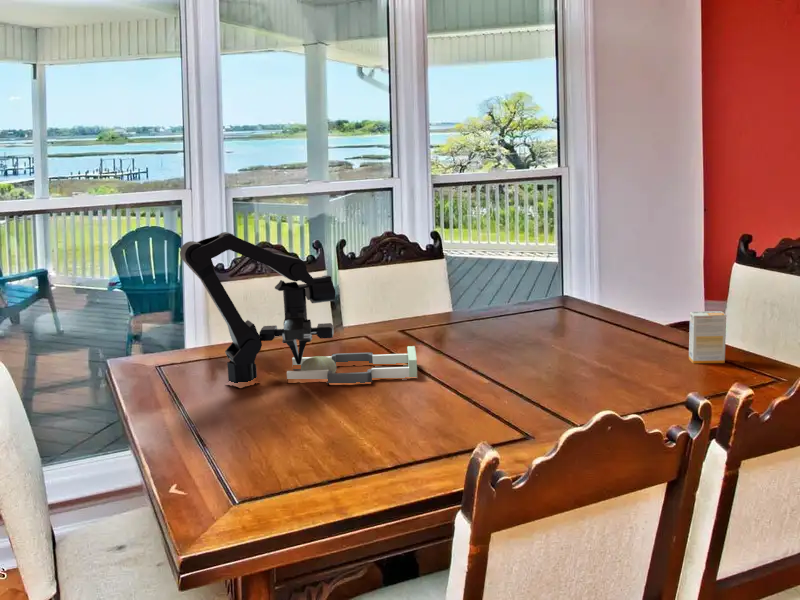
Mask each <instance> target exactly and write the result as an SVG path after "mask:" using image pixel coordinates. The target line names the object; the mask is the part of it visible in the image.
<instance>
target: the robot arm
mask: <svg viewBox="0 0 800 600" xmlns="http://www.w3.org/2000/svg"><path fill="white" fill-rule="evenodd" d="M227 251H231V252H234V253H236V254H238V255H241V256H244V257H246V258H249V259H250V260H253V261H255V262H258V263H261V264H263V265H265V266H267V267H269V268H270V269H272V271H274V272H276V273H278V274H279V275H280V276H282V277H284V278H286V279H287V280H290V281H289V282H285V281H284V280H282V279H280V280H279V282H278V283H277V284H276V285H275V286H274V289H275V290H276V291H279V292H282V294H283V308H284V309H283V310H284V312H283V313H284V320H283V328H278V326H277V325H263V326H262V328H261V329H260V331H259V332H258V330H257V327H256V325H255V323H253V322H252V321H250V320H249V319H247V320H246V321H244V320H243V318H242V316H241V314H240V313H239V311H238V309H237V307H236V306H235V304H234V301H232V299H231V297H230V295H228V292H227V291H226V289H225V287H224V286H223V283H222V282H221V280H220V279H219V277H218V275H217V274H216V271H215V267H214V263H213V258H215V257H218V256H219V255H221V254H223V253H225V252H227ZM179 255H180V258H181V260H182V261H183V262H184V263H185V265H186V266H187V267H188V268H189V269H190V270H191V272H193V273H194V275H195V276H196V277H198V278H199V280H200V281H201V283H202V285H203V287H204V289H205V290H206V292H207V293H208V294H209V297H210V299H212V302H213V303H214V305H215V307H216V309H217V310H218V312H219V313H220V315H221V317H222V319H223V320H224V322H225V323H226V325H227V328H228V332H229V336H230V339H231V341H232V342H231V344H230V345H228V347H227V348H226V350H225V351H224V353H225V355H226V357H227V359H229V361H227V363H226V364H227V366H226V367H227V376H228V377H227V379H228V380H227V381H228V382H229V381H231V382H234V383H238V382H248V381H251V380H253V379H254V378H256V377H257V378H258V374H257V373H258V371H257V364H256V358H257V355H258V354H259V352H261V349H262V346H263V342H269V341H270V342H271V341H273V340H274V339H275V338H276V337H282V340H281V342H282V343H283V344H287V346H288V348H289V349H290V351H291V353H292V355H293V358H295V360H296V362H297V364H301V360H302V357H303V356H304V351H305V347H306V345H307V343H310V342H311V341H312V340H313V336H315V335H316V336H317V337H318V338H319V339H322V340H323V339H333V337H334V332H335V331H334V324H333V323H325V322H324V323H317V326H316V327H315V326H314V327H312V322H311V319H308V310H307V301H310V303H311V304H318V303H328V302H333V301H335V299H336V289H335V286H334V282H333V281H332V276H331V275H329V274H328V275H327V274H326V275H322V276H317V277H313V276H312V275H311V274H310V273H309V272H308V271H307V270H308V269H307V265H306V262H305V261H304V260H303V259H300V258H297V257H294V256H291V255H286V254H282V253H277V252H273V251H270V250H268V249H265V248H262V247H260V246H258V245H256V244H254V243H251V242H249V241H248V240H244V239H242V238H239V237H238V236H235V235H234V234H232V233H231V232H226V231H224V232H220V233H219V234H217V235H214V236H211V237H208V238H204V239H202V240H199V241H194V240H193V241H191V240H190V241H187V242H185V243H184V244H183V245H182V246H181V248H180V251H179ZM298 282H301V283H302V284H298ZM297 341H298V342H297ZM297 343H298V344H297Z"/></svg>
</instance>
